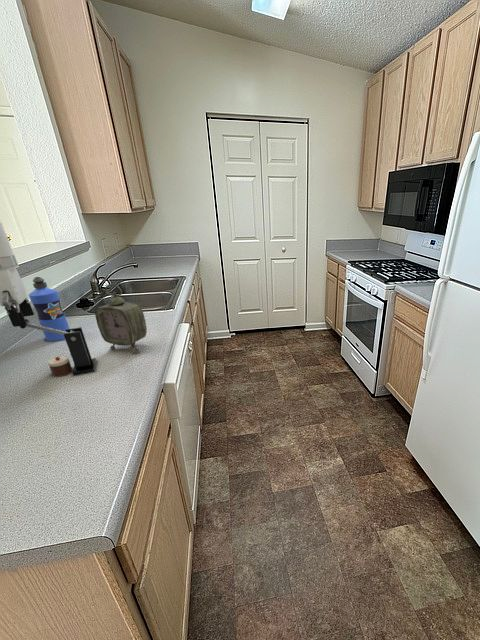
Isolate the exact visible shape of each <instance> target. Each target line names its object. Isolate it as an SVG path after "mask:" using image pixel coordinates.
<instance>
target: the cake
mask: <svg viewBox="0 0 480 640" xmlns="http://www.w3.org/2000/svg"><path fill="white" fill-rule="evenodd" d="M47 364H48V367H49V370H50V372H51V374H52V376H53V377H62V376H67V375H69V374H70V373H73V366H72V365H71V362H70V359H69V357H68V356H63V355H62V356H56V357H53V358H51V359H49V360H48V361H47Z"/></svg>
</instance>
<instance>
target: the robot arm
mask: <svg viewBox="0 0 480 640" xmlns="http://www.w3.org/2000/svg"><path fill="white" fill-rule="evenodd" d="M19 267H20V266H19V263H18V261H17V259H16V255H15V254H14V251H13V248H12V246H11V243H10V240H9V238H8V235H7V233H6V231H5V228H4V226H3V223H2V220H0V307H4V310H5V311H6V314H7V316H8V318H9V320H10V323H11V326H12V327H14V328H15V327H16V328H17V327H20V326H24V325H26V324H27V323H26V321H25V319H26V318H25V317H31V316H32V317H33V316H34V315H35V312H34V310H33V307H32V305H31V302H30V299H29V298H28V293H27V290H26V287H25V285H24V282H23V280H22V277H21V276H20V274H19V271H18V268H19Z"/></svg>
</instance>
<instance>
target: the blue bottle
mask: <svg viewBox="0 0 480 640" xmlns="http://www.w3.org/2000/svg"><path fill="white" fill-rule="evenodd" d="M32 285H33V288H34V290H33V291H31V292H30V293H28V297H29V298H28V299H29V301H30V304H32V306H33V308H34V309H35V311H36V313H37V318H38V322H39V325H40V326H44V327H49V328H53V329H57V330H61V331H65V332H66V329H71V328H70V326H69V323H68V320H67V317H66V315H65V313H64V311H63V309H62V306H61V301H60V295H59V292H58V290H57V289H54V288H49V287H48V284H47V282H46V281H45V279H44V278H43V277H41V276H36V277H34V278H33V279H32ZM42 333H43V335H44V337H45V340H46V341H48V342H57V341H64V340H66V339H65V337H64V335H61V334H57V333H52V332H48V331H44V330H42Z"/></svg>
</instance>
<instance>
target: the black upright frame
mask: <svg viewBox="0 0 480 640" xmlns="http://www.w3.org/2000/svg"><path fill="white" fill-rule="evenodd" d="M71 330H72V331H76V332H70V331H71ZM66 332H69V333H64V337H65V339H64V340H65V342H66V345H67V347H68V350H69V353H70V356H71V359H72V361H73V364H74V367H73V369H72V375H73V376H79V375H80V376H81V375H84V374H91V373H94V372H96V371H95V370H96V365H97V358H96V357H95V358H93V357H92V355H91V351H90V349H89V345H88V343H87V340H86V337H85V334H84V332H83V328H82V326H80V327H79V326H78V327H74V328H73V327H72V328H70V329H66Z"/></svg>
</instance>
